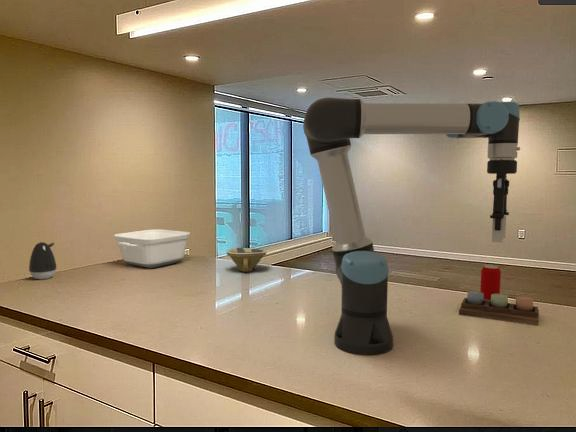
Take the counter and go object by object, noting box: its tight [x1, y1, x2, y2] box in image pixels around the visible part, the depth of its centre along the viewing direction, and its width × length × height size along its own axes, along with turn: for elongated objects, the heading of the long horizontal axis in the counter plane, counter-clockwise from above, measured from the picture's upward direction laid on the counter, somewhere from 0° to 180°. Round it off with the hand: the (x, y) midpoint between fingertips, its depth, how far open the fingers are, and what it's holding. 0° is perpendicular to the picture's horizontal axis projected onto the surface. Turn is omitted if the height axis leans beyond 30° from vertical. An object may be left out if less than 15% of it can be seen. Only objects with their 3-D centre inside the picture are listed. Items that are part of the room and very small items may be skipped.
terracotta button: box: [515, 296, 534, 311], centre depth 142 cm, size 5×5×3 cm
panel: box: [458, 297, 540, 326], centre depth 145 cm, size 12×22×3 cm, turn 62°
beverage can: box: [479, 264, 502, 301], centre depth 161 cm, size 6×6×12 cm
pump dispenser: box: [28, 241, 57, 280], centre depth 194 cm, size 10×10×15 cm
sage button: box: [491, 293, 509, 307], centre depth 145 cm, size 5×5×3 cm
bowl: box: [226, 247, 267, 273], centre depth 209 cm, size 18×18×10 cm
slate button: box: [466, 290, 484, 304], centre depth 148 cm, size 5×5×3 cm
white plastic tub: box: [113, 228, 191, 269], centre depth 223 cm, size 34×29×15 cm
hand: (498, 239), depth 131 cm, fingers open, 9 cm apart
